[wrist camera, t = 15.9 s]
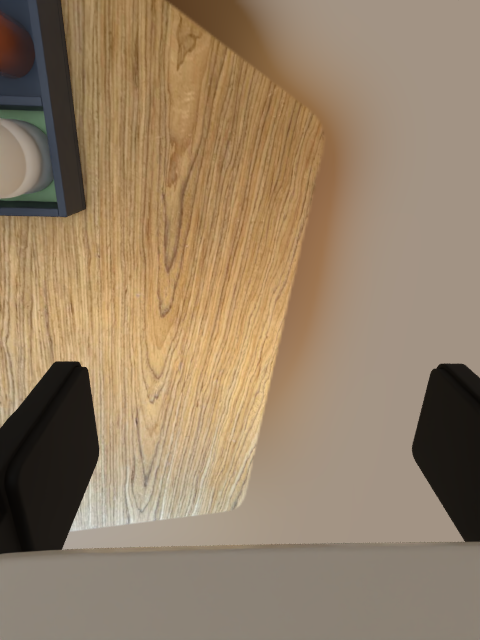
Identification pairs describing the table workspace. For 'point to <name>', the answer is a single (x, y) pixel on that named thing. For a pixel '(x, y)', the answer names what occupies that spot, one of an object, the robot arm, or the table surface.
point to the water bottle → (23, 159)
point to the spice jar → (14, 48)
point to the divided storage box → (45, 110)
